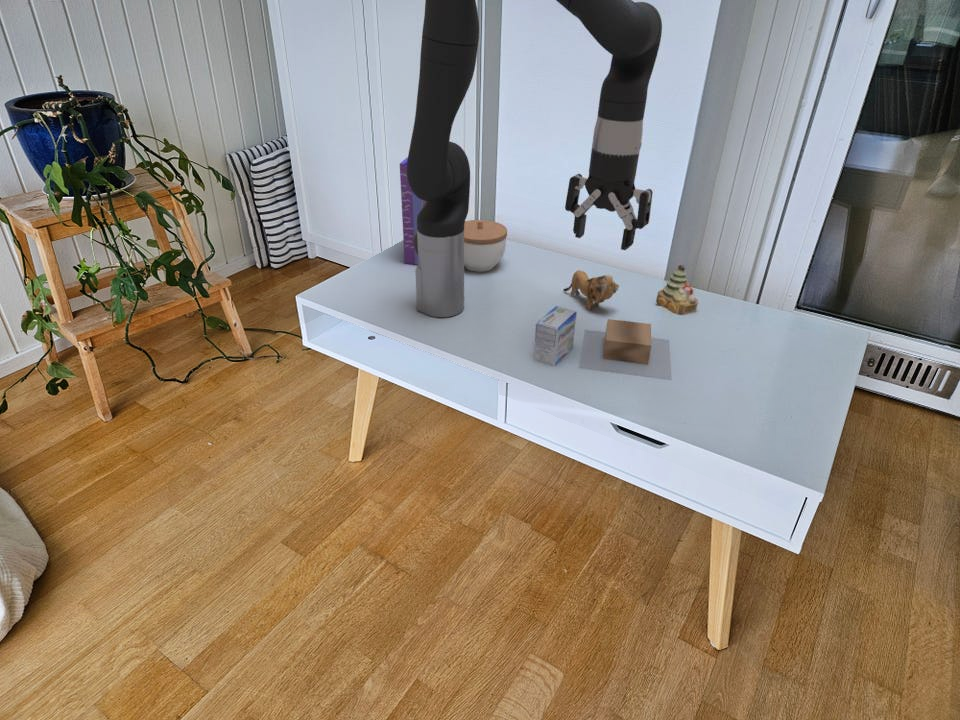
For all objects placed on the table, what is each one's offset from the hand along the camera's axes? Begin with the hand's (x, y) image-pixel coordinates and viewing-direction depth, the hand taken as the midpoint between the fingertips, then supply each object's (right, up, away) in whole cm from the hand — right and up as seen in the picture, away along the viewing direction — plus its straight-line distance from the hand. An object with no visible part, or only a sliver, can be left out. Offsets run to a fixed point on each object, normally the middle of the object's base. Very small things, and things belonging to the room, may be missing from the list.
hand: (601, 242), depth 110 cm
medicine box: (-8, -20, +8) cm, 23 cm away
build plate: (+6, -20, +8) cm, 22 cm away
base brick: (+6, -19, +8) cm, 21 cm away
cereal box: (-35, +7, +49) cm, 60 cm away
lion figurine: (+2, -9, +26) cm, 27 cm away
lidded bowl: (-21, +2, +42) cm, 47 cm away
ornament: (+20, -10, +25) cm, 33 cm away
